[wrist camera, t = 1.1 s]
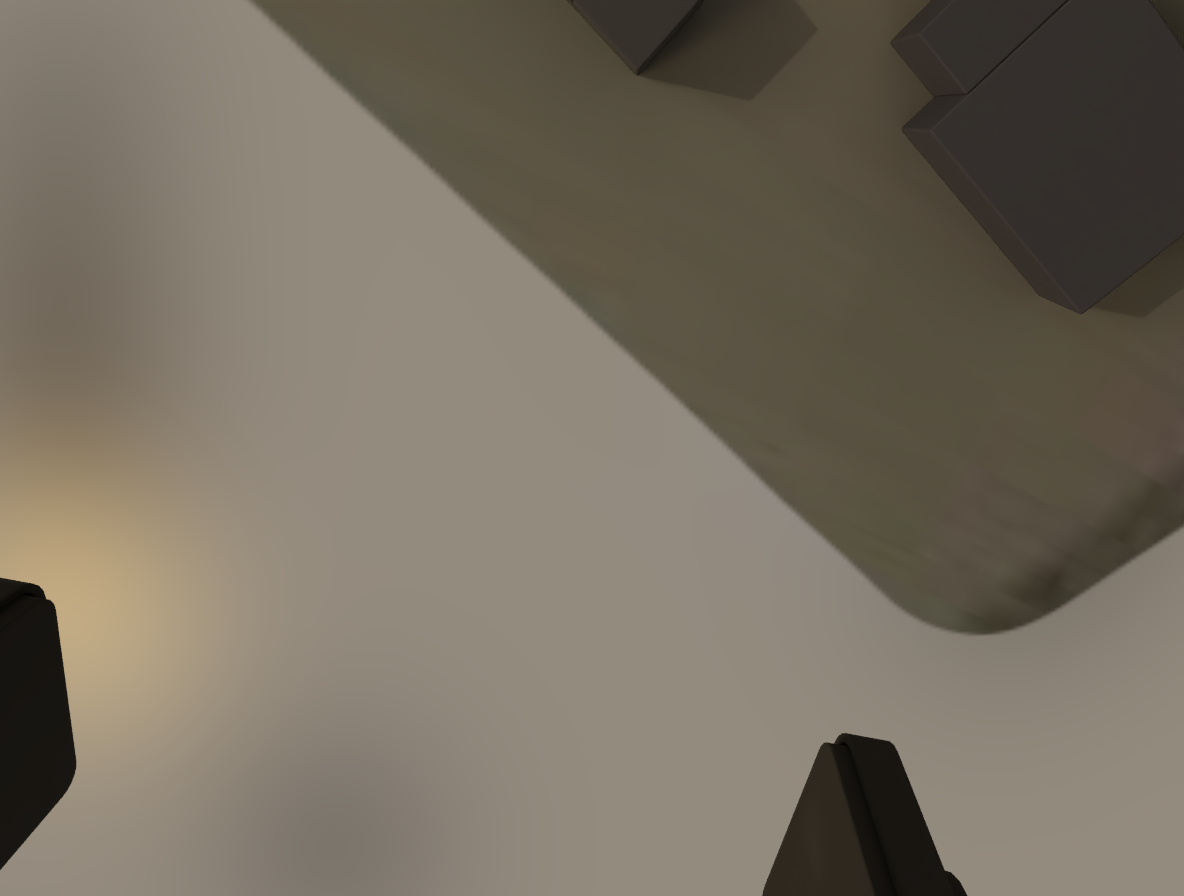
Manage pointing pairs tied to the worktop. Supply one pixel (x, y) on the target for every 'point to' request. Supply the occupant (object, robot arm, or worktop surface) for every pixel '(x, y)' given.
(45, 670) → the robot arm
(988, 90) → the tongue pad
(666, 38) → the notch pad
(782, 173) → the worktop surface
